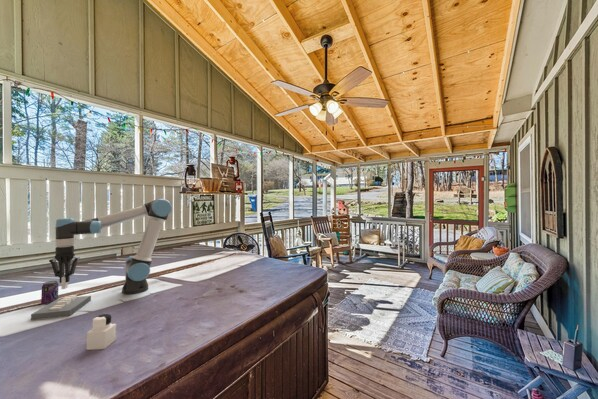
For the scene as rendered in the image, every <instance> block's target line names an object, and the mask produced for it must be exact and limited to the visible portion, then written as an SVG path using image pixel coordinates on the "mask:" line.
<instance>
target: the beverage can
mask: <svg viewBox="0 0 598 399" xmlns="http://www.w3.org/2000/svg"><path fill="white" fill-rule="evenodd" d="M40 296H41V299H40V300H41V302H40V303H41V304H43V305H48V304H50V303H52V302H53V301H55V300H57V299H59V281H58V280H50V281H46V282H43V283H42V286H41V295H40Z"/></svg>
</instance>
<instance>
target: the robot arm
mask: <svg viewBox="0 0 598 399" xmlns="http://www.w3.org/2000/svg"><path fill="white" fill-rule="evenodd" d="M172 209H173V206H172V203H171V202H170V201H169V200H167V199H165V198H157V199H153V200H152V201H150V202H146V203H143V204H142V205H141V206H137V207H133V208H130V209H125V210H122V211H118V212H114V213H109V214H107V215H102V216H98V217H95V218H94V217H93V218H91V219H86V220H84V221H83V220H81V221H76V220H75V219H74V218H71V217H70V218H69V217H67V218H57V219H56V221H55V228H54V229H55V252H54V253H55V255H54V257H53V258H51V259H49V260H48V262H49V263H50V264H51V268H52V270H53V274H54V277H58V278H59V284H61V290H66V289H68V286H69V284H68V283H70V276H73V275H74V274H75V272H76V268H77V264H78V262H79V261H80V259H81V258H80V256H79V257H78V256H76V254H75V247H74V245H75V235H92V234H93V235H95V234H100V233H101V231H102V229H105V228H109V227H113V226H116V225H119V224H123V223H126V222H129V221H133V220H137V219H142V218H144V217H147V218H148V221H147V224H146V227H145V230H144V232H143V235H142V238H141V241H140V243H139V246H138V249H137V250H136V254H135V255H134V256H129V257H126V258H125V281H124V284H123V285H122V288H121V293H122V294H124V295H130V294H131V295H133V294H138V293H143V292H145V290H146V291H148V290H149V283H148V280H147V278H148V276H149V275H150V273H151V266H152V263H153V258H152V256H153V253H154V249H155V246H156V244H157V242H158V238H159V235H160V233H161V232H160V231H161V230H162V226H163V224H164V223H165V222H166V221H168V218H169V215H170V214H171V213H172V211H173V210H172ZM71 261H72V263H71ZM57 262H58V263H57ZM142 291H143V292H142Z"/></svg>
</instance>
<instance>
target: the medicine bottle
mask: <svg viewBox="0 0 598 399" xmlns="http://www.w3.org/2000/svg"><path fill="white" fill-rule="evenodd" d="M116 339H117V323H112V314H109V313H103V314H99V315H96V316H95V317H93V319H92V328H91V329H90V330H88V331H87V332H86V344H85V345H86V348H85V349H86V350H87V351H90V350H91V351H92V350H94V351H95V350H105V349H106V348H107V347H109V346H110V345H111V344H113V343H114V342H115V341H116Z"/></svg>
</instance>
